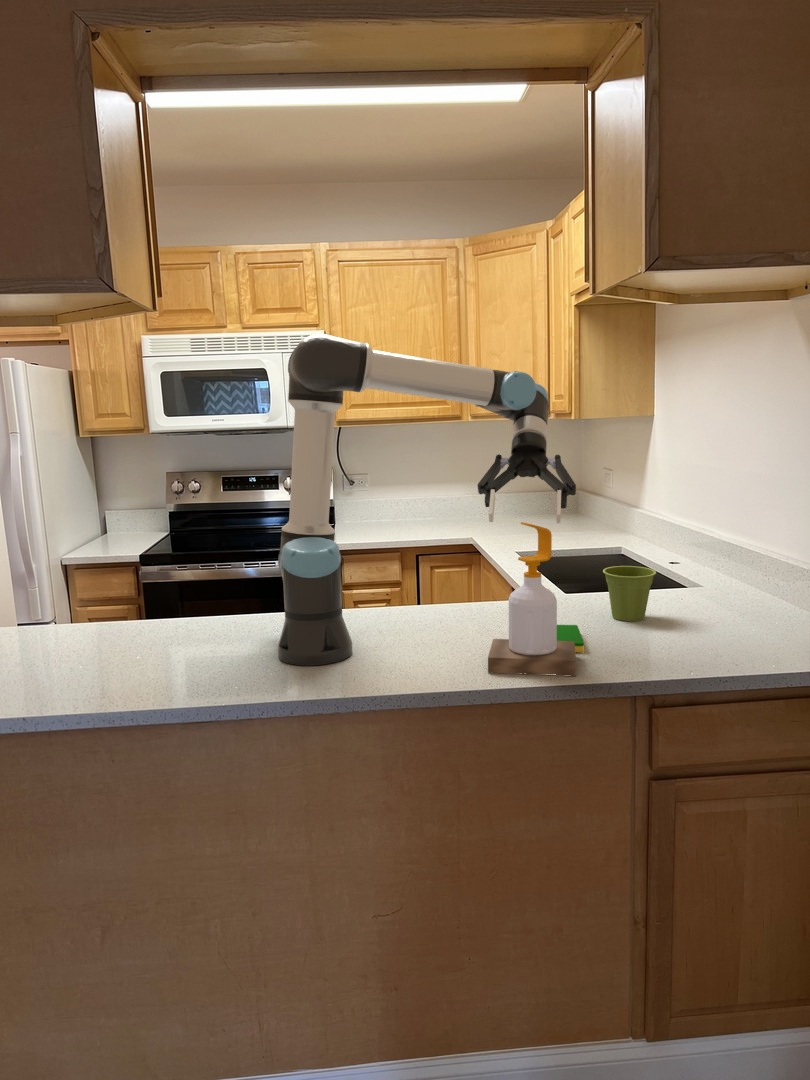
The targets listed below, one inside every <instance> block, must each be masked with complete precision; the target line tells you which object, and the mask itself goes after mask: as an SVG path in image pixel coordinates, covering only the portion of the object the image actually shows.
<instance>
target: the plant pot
mask: <svg viewBox="0 0 810 1080" xmlns="http://www.w3.org/2000/svg"><path fill="white" fill-rule="evenodd" d="M602 572H603V574H605V575H604V576H605V580H606V581H605V582H606V583H607V589H608V595H609V601H610V602H609V603H610V609H611V616H612V618H613V619H615V620H616V621H627V622H640V621H642V620H644V619H645V616H646V611H647V607H648V606H647V605H648V601H649V596H650V590H651V586H652V584H653V580H654V576H655V575H656V574H657V571H656V570H655V569H652V568H649V567H643V566H638V565H637V566H633V565H619V566H617V565H616V566H609V567H605V568H604V569H603V570H602Z"/></svg>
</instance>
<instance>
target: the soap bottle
mask: <svg viewBox="0 0 810 1080" xmlns="http://www.w3.org/2000/svg"><path fill="white" fill-rule="evenodd" d="M520 525H523V526H527V527H529V528H530V527H531V528H534V529H535V530H536V531H537V553H536V554H534V555H528V556H519V557H518V561H521V562H524V563H525V564H524V565H525V566H526V567H527V568H528V569H527V571H525V572H524V573H523V584H522V585H521V586H519V587H517V588H516V589H514V591H512V592H511V593H510V594H509V597H508V639H509V649H510V650H512V651H513V652H516V653H518V654H523V655H532V656H536V655H546V654H549V653H552V652H554V651H555V650H556V648H557V625H558V623H557V622H558V620H557V619H558V618H557V617H558V612H557V611H558V602H557V597H556V595H555V593H554V592H553V591H551V590H550V588H547V587H546V586H544V585H543V583H542V572H539V571H538V566H541V562H547V561H549V560H550V559H551V558H552V550H553V549H552V548H553V547H552V538H553V537H552V531H551V530H550V529H549V528H547V527H543V526H540V525H539V526H538V525H535V524H532V523H527V522H524V521H523V522H522V521H521V522H520Z"/></svg>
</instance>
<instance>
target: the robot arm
mask: <svg viewBox="0 0 810 1080" xmlns="http://www.w3.org/2000/svg"><path fill="white" fill-rule="evenodd" d="M287 364H288V365H287V372H288V373H287V374H288V394H287V395H288V396H287V397H288V399H287V401H288V403H289V405H291V407H292V408H293V410H294V417H293V418H294V421H293V439H292V441H293V442H292V457H291V458H292V460H291V478H290V479H291V480H290V482H291V483H290V497H289V498H290V499H289V514H288V515H289V517H288V518H289V519H288V521H287V523H285V524H284V525H283V526H282V527H281V536H280V550H279V553H278V557H277V558H278V561H277V563H278V569H279V572H280V574H281V577H282V585H283V603H284V622H283V623H284V624H283V627H282V630H281V634H280V638H279V642H278V645H277V654H278V656H277V657H278V659H279V660H280V661H282V662H284V663H286V664H290V665H294V666H295V665H297V666H322V665H327V664H334V663H338V662H340V661H343V660H346V659H348V658H349V657H351V656H352V654H353V642H352V639H351V636H350V633H349V630H348V628H347V627H348V626H347V625H346V621H345V619H344V617H343V602H342V601H343V599H342V577H341V572H342V571H341V562H342V556H341V553H340V547H339V545H338V543H337V542H335V540H336V539H335V538H336V537H335V535H336V531H335V529H334V528H333V527H332V525H330V522H329V521H330V504H331V490H332V489H331V486H332V472H333V454H334V441H335V439H334V436H335V418H336V412H337V411H338V410H339V409H341V408H342V407H343V405H344V403H343V402H344V392H356V393H362V392H363V391H365V390H366V389H368V390H376V391H383V392H387V393H388V392H391V393H396V394H401V395H402V394H403V395H408V396H409V395H410V396H416V397H423V398H424V397H425V398H431V399H438V400H445V401H449V402H456V403H462V404H463V403H465V404H471V405H474V406H475V407H479V408H482V409H484V410H486V411H489V412H490V413H493V414H497V415H498V416H501V417H503V418H505V419H507V420H509V421H513V424H512V434H511V435H512V437H511V439H512V440H511V449H510V450H511V451H510V456H509V457H502V455H501V454H496V456H495V460H494V462H493V463H492V464H491V466H490V468H489V469H488V470H487V471H486V473H485V474H484V475H483V477H482V478H481V479H480V481H479V482H478V483H477V492H478V494H479V495H484V506H485V507H486V508H488V521H489V523H494V515H495V504H496V503H495V502H496V493H497V492H498V491H500V490H501V489H502V488H503V487H504V486H505V485H507V484H508V483H509V482H510V481H513V480H515V479H516V478H518V477H519V478H526V477H529V478H535V477H536V476H537V478H539V479H540V480H541V481H542V480H543V481H544V482H545V483H546V484H547V485H548V486H549V487H550V488H551V489H552V490H554V491H555V492H556V493H557V497H556V524H561V517H562V515H561V514H562V509H567V505H568V503H567V501H568V496H575V495H576V494H577V484H576V482H575V481H574V480H573V478H572V477H571V475H570V474H569V471H568V470H567V468H565V465H564V464H563V463H562V459H561V458H562V457H561V455H560V454H556V455H554V457H550V458H548V456H547V446H548V445H547V444H548V443H547V442H548V441H547V439H548V419H549V409H550V403H549V396H548V395H549V394H548V391H547V390H546V388H545V387H544V386H543V385H542V384H539V383H536V381H535V380H534V378H533V376H531V375H530V374H528V373H526V372H524V371H517V370H514V371H504V370H498V369H491V368H487V367H482V366H481V367H480V366H474V365H468V364H463V363H457V362H450V361H444V360H439V359H438V360H437V359H433V358H426V357H420V356H413V355H408V354H401V353H393V352H388V351H382V350H377V349H376V350H375V349H372V347H371V346H370V345H369V343H367V342H360V341H355V340H351V339H347V338H343V337H339V336H335V335H332V334H327V333H316V334H315V333H314V334H311V335H309V336H307V337H305V338H303V339H302V340H301V341H299V343H298V344H297V345H296V347H295V348H294V349H293V351H292V352H291V353H290V355H289V359H288V363H287ZM507 465H508V467H507V468H506V469H505V470H504V471H503V472H501V473H500V471H501V470H503V469H504V468H505V466H507ZM548 465H549V466H550V467H551V468H552V469H553V470H555V472H556V474H557V476H558V477H559V478H558V477H556V475H554V474H553V473H552V472H551V471H550V469H548Z"/></svg>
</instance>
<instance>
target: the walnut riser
mask: <svg viewBox="0 0 810 1080" xmlns="http://www.w3.org/2000/svg"><path fill="white" fill-rule="evenodd" d="M576 669H577V657H576V653H575V643H574V641H557V648H556V650H555V651H554V652H552V653H549V654H546V655H536V656H532V655H523V654H518V653H516V652H513V651H512V650H510V649H509V638H493V639H492V642H491V645H490V649H489V653H488V656H487V673H488V672H493V673H492V674H503V673H522V674H521V675H528V674H556V675H571V676H570V677H576V676H577V670H576ZM524 673H526V674H524Z"/></svg>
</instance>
